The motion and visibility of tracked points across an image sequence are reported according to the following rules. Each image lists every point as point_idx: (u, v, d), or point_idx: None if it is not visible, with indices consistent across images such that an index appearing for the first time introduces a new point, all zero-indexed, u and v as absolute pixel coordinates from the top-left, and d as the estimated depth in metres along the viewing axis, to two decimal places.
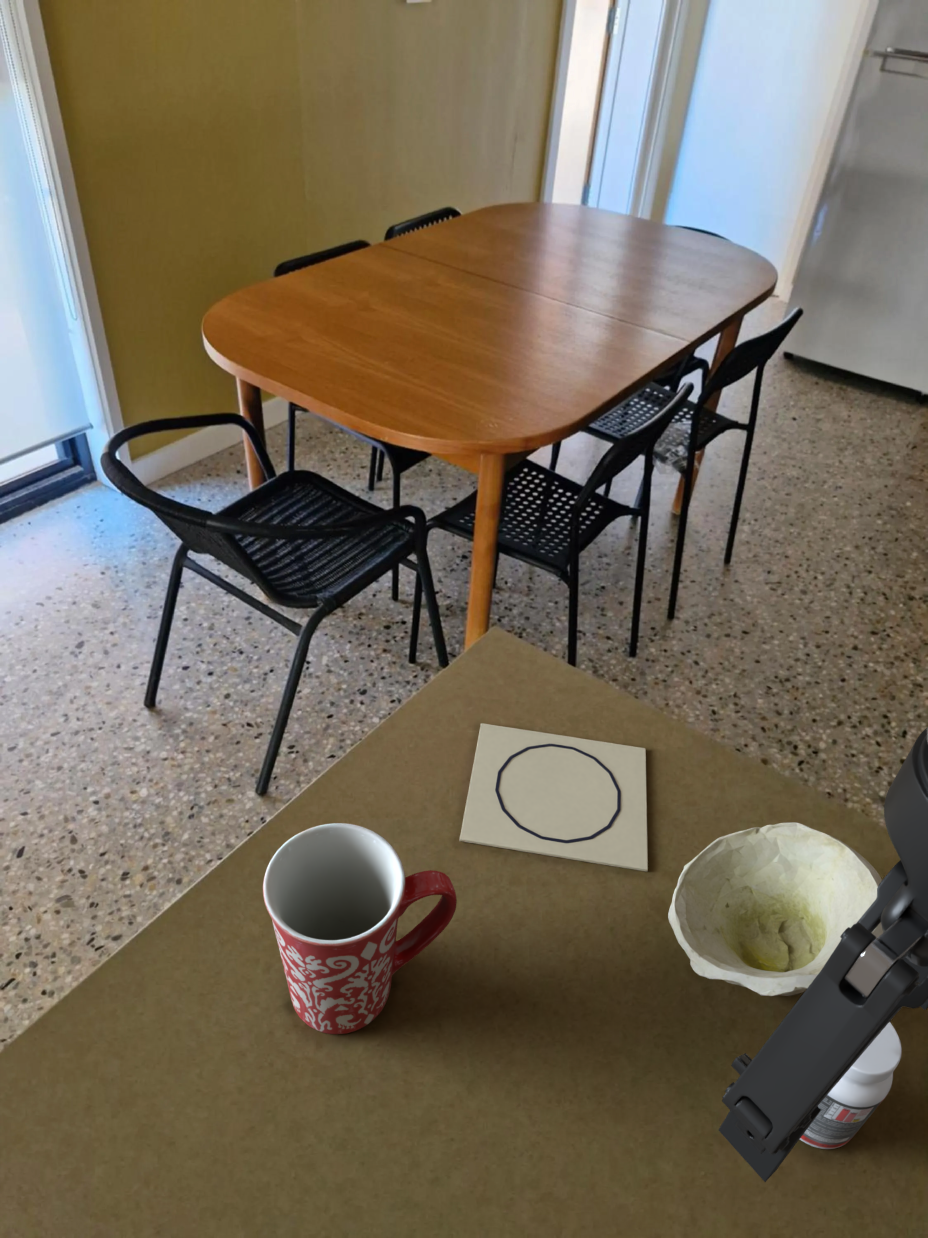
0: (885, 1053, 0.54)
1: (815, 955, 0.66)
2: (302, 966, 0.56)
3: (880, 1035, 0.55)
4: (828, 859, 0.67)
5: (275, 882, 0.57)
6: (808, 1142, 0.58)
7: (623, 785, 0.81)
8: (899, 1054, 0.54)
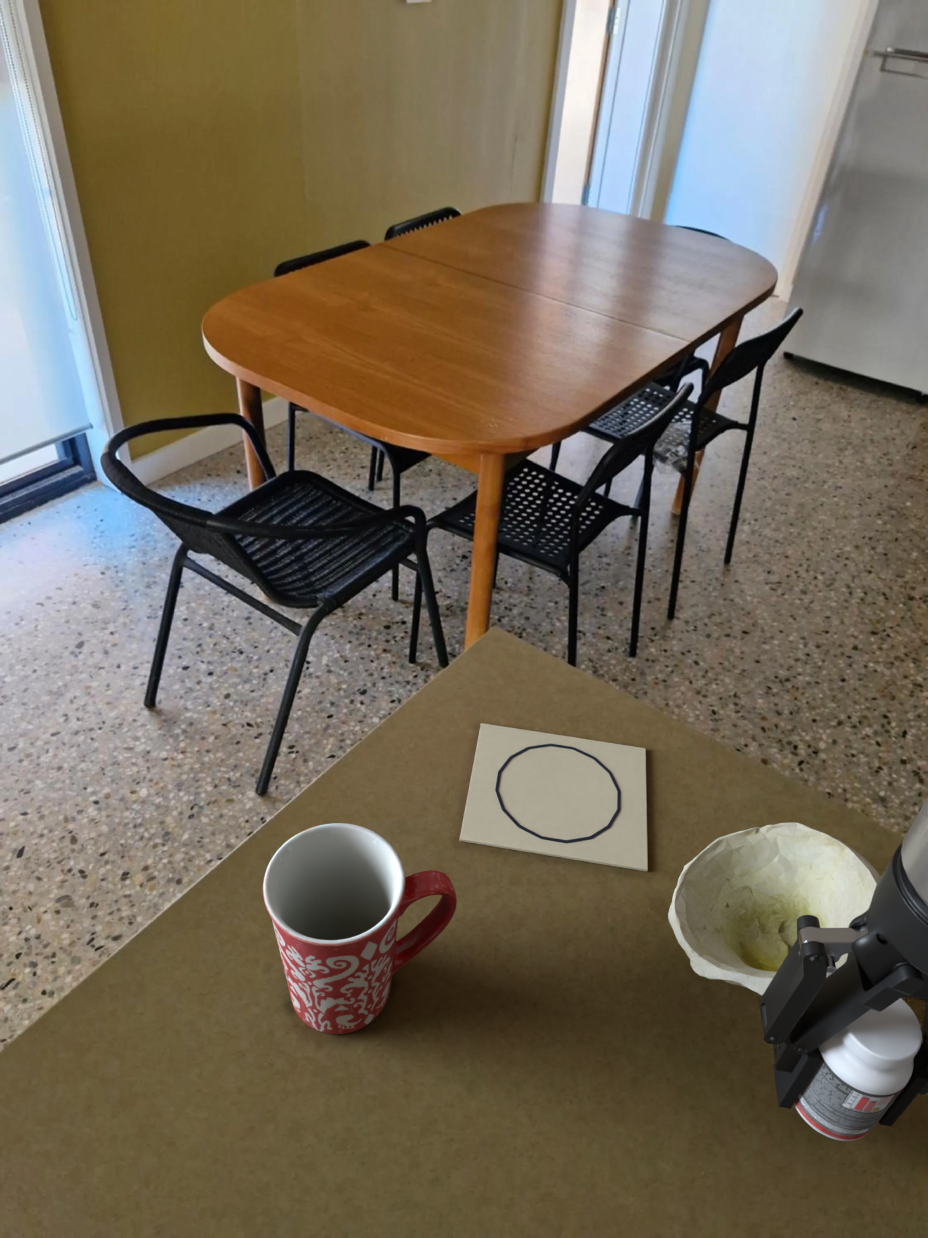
0: (905, 1038, 0.52)
1: None
2: (302, 966, 0.56)
3: (900, 1020, 0.53)
4: (828, 859, 0.67)
5: (275, 882, 0.57)
6: (826, 1133, 0.56)
7: (623, 785, 0.81)
8: (920, 1039, 0.52)
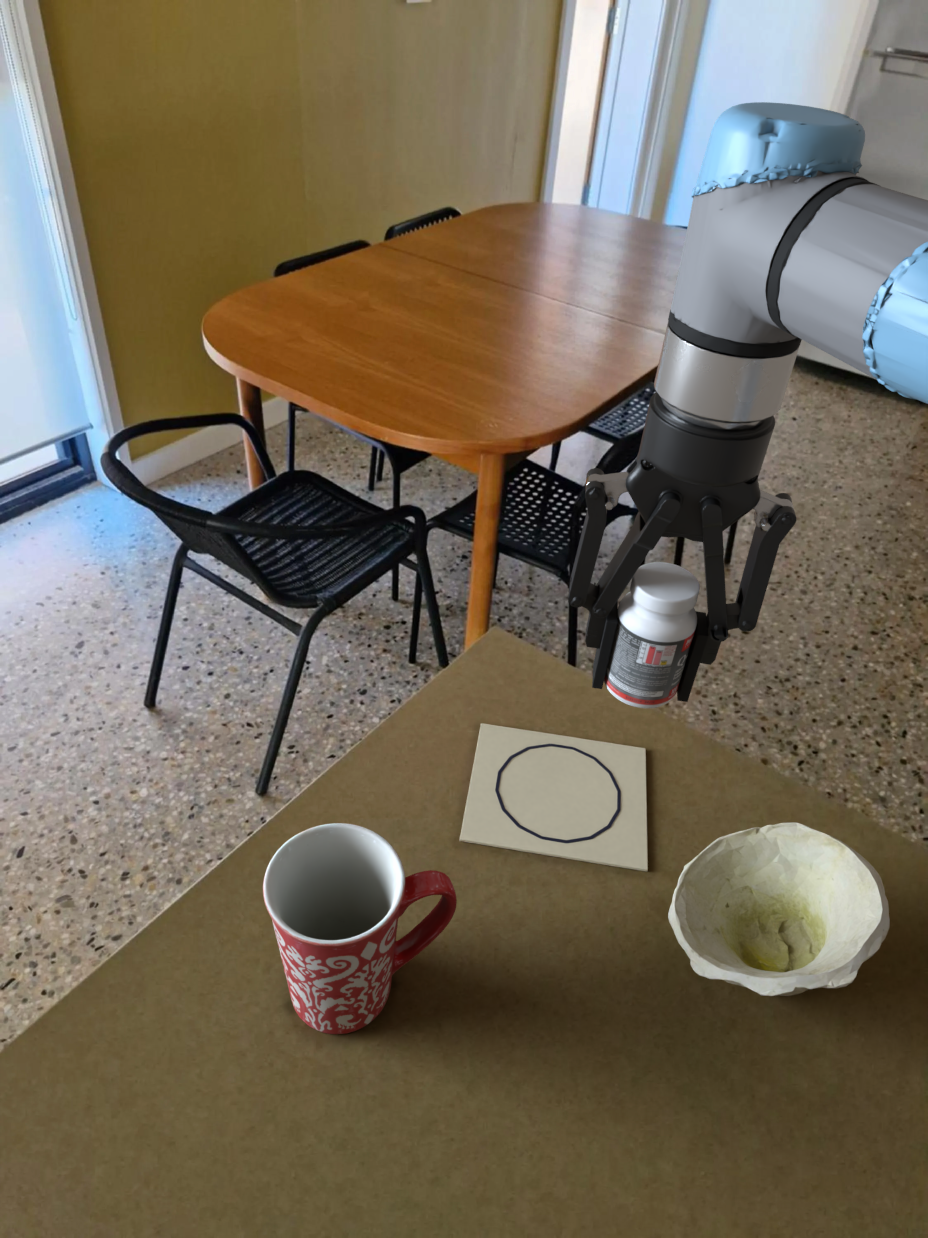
0: (684, 590, 0.61)
1: (815, 955, 0.66)
2: (302, 966, 0.56)
3: (682, 581, 0.62)
4: (828, 859, 0.67)
5: (275, 882, 0.57)
6: (629, 700, 0.65)
7: (623, 785, 0.81)
8: (696, 591, 0.61)
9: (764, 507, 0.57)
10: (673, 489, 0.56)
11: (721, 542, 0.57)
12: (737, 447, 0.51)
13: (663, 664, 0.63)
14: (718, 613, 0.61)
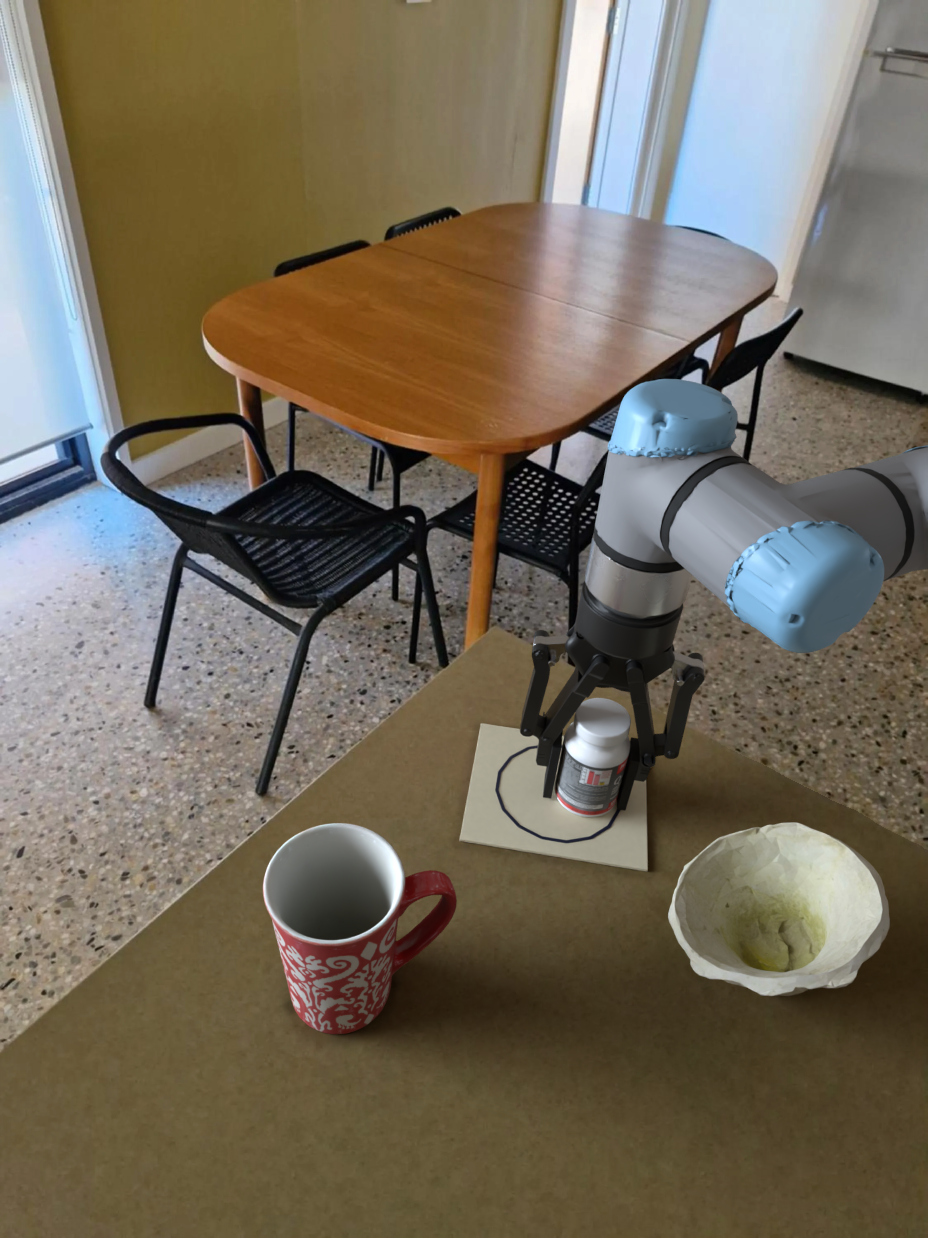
0: (617, 726, 0.73)
1: (815, 955, 0.66)
2: (302, 966, 0.56)
3: (616, 716, 0.74)
4: (828, 859, 0.67)
5: (275, 882, 0.57)
6: (574, 811, 0.78)
7: None
8: (627, 727, 0.73)
9: (679, 667, 0.69)
10: (603, 653, 0.68)
11: (644, 694, 0.69)
12: (650, 633, 0.63)
13: (601, 784, 0.75)
14: (647, 745, 0.74)
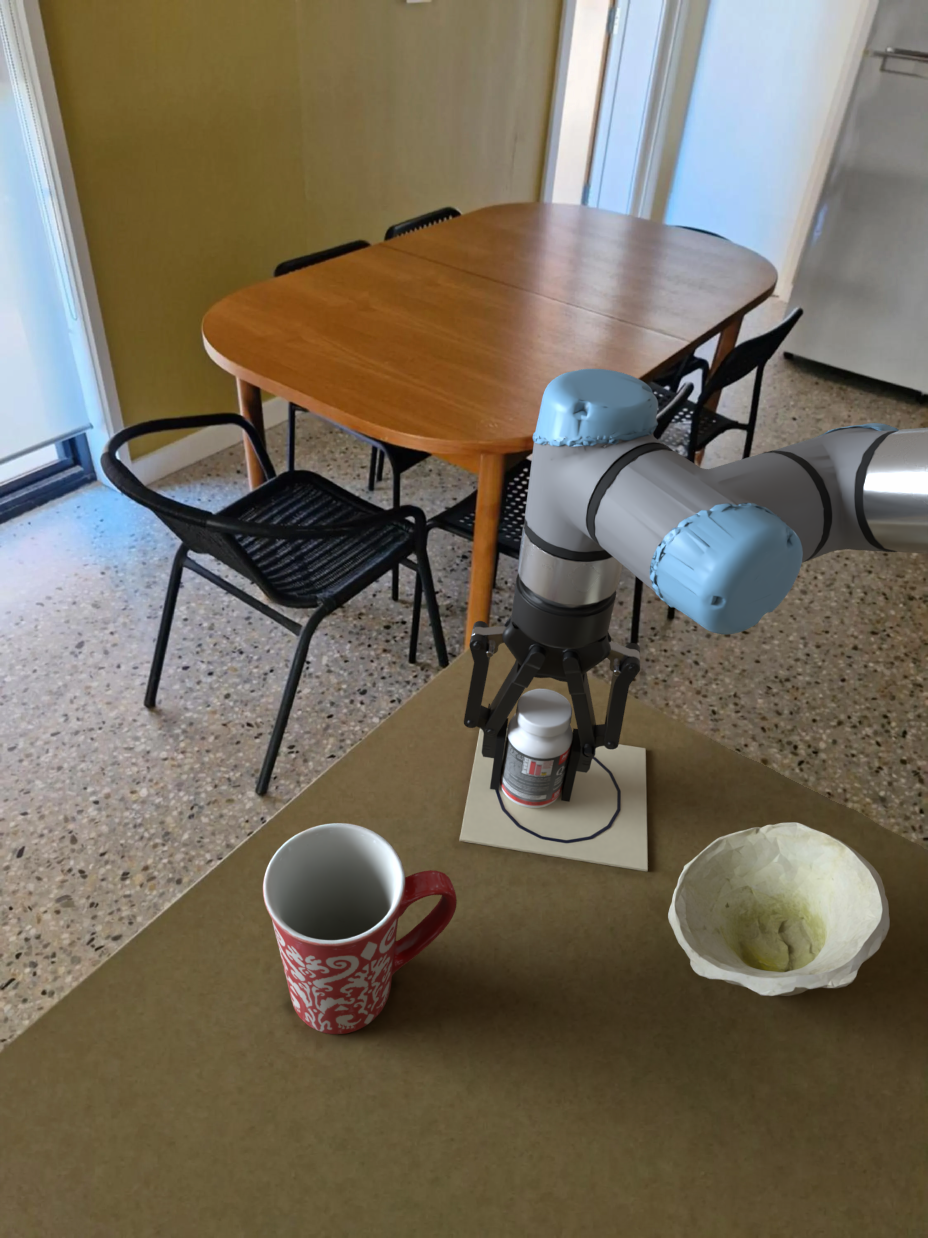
0: (558, 716, 0.74)
1: (815, 955, 0.66)
2: (302, 966, 0.56)
3: (558, 707, 0.75)
4: (828, 859, 0.67)
5: (275, 882, 0.57)
6: (518, 801, 0.78)
7: (623, 785, 0.81)
8: (568, 717, 0.74)
9: (615, 657, 0.69)
10: (539, 643, 0.69)
11: (581, 684, 0.70)
12: (581, 622, 0.64)
13: (543, 775, 0.76)
14: (586, 735, 0.74)
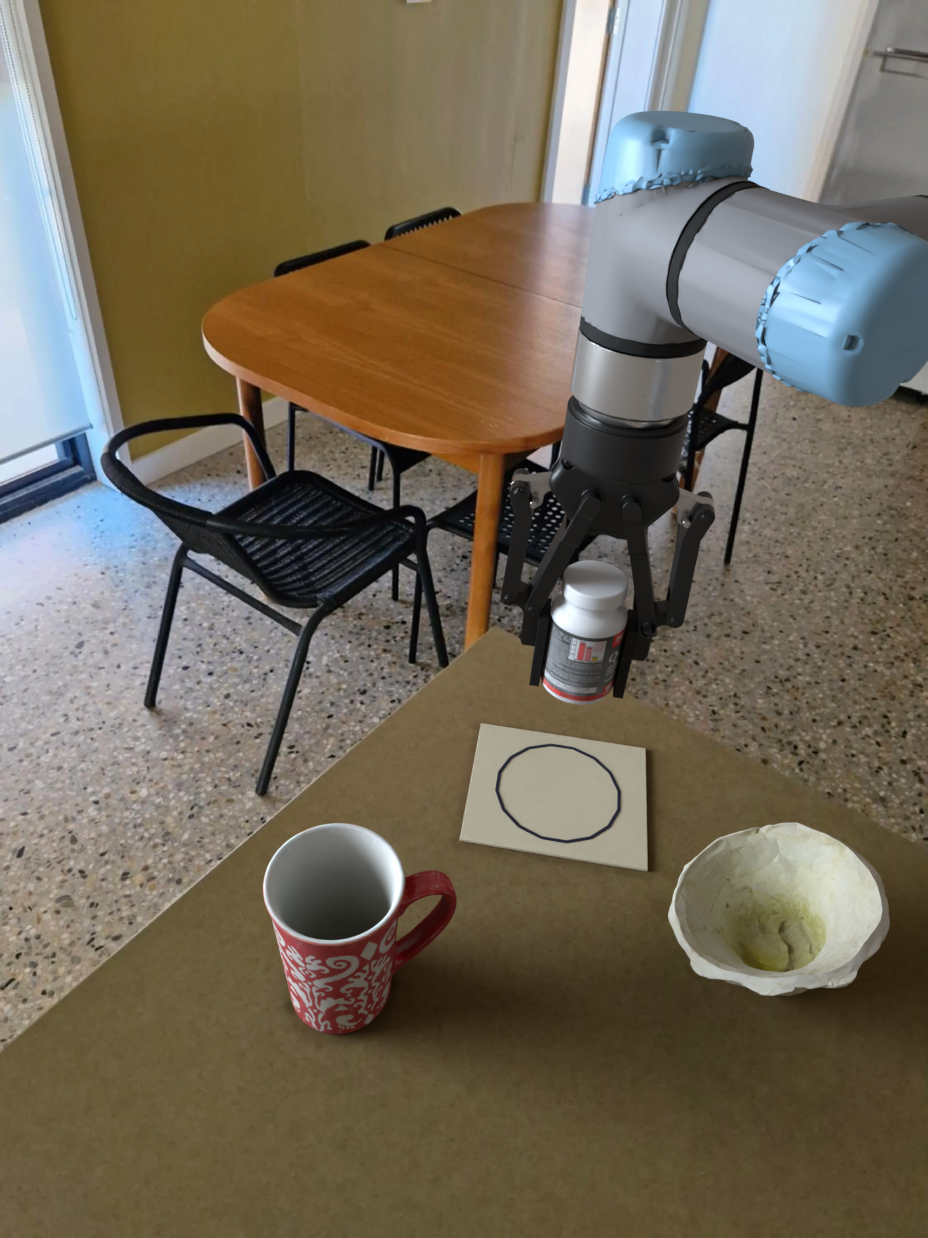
0: (612, 587, 0.62)
1: (815, 955, 0.66)
2: (302, 966, 0.56)
3: (611, 578, 0.63)
4: (828, 859, 0.67)
5: (275, 882, 0.57)
6: (563, 696, 0.67)
7: (623, 785, 0.81)
8: (624, 588, 0.62)
9: (684, 505, 0.58)
10: (594, 488, 0.57)
11: (643, 540, 0.58)
12: (649, 446, 0.52)
13: (594, 660, 0.64)
14: (646, 610, 0.62)
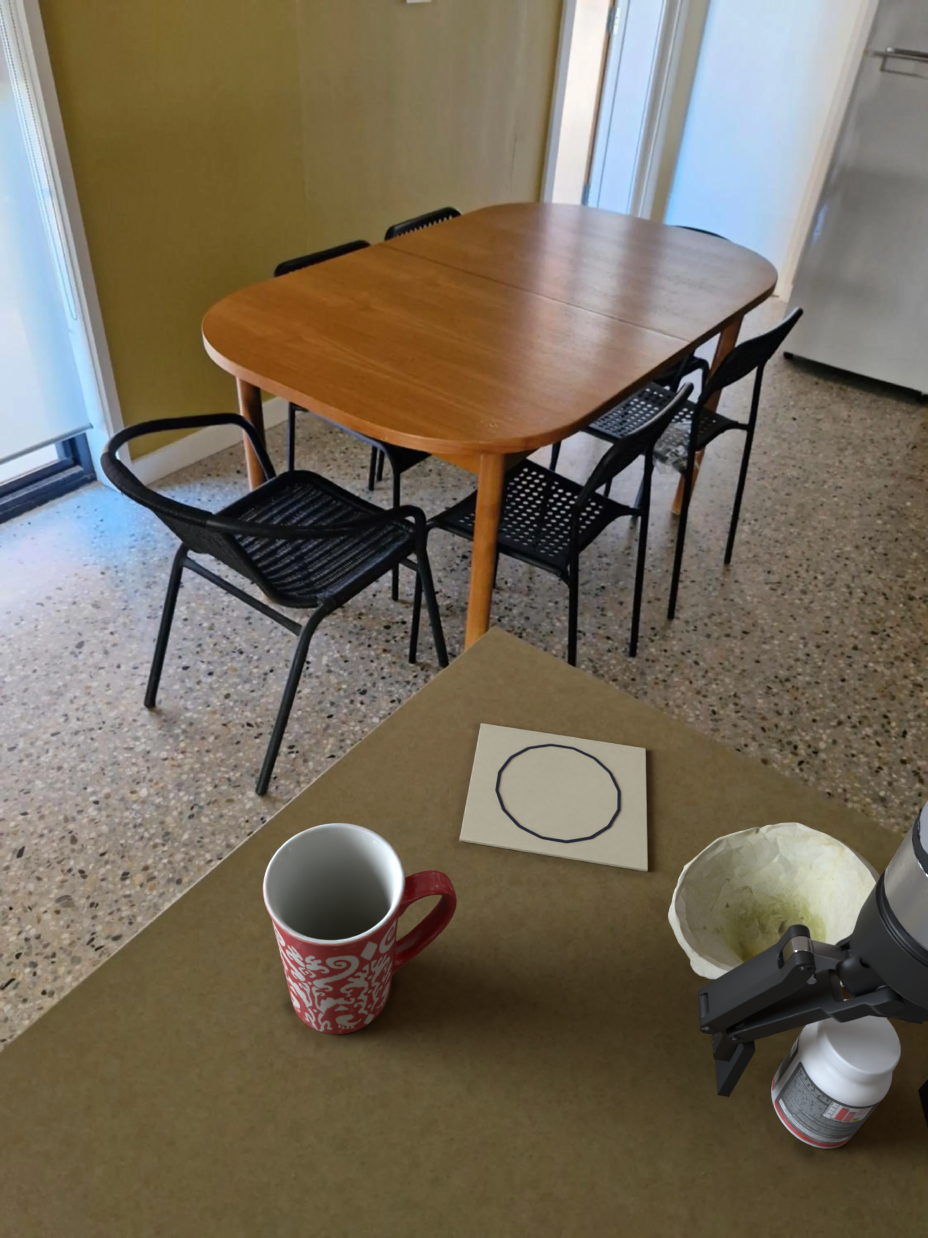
0: (884, 1052, 0.54)
1: None
2: (302, 966, 0.56)
3: (879, 1034, 0.55)
4: (828, 859, 0.67)
5: (275, 882, 0.57)
6: (807, 1141, 0.58)
7: (623, 785, 0.81)
8: (898, 1053, 0.54)
9: None
10: None
11: None
12: None
13: (854, 1121, 0.56)
14: None
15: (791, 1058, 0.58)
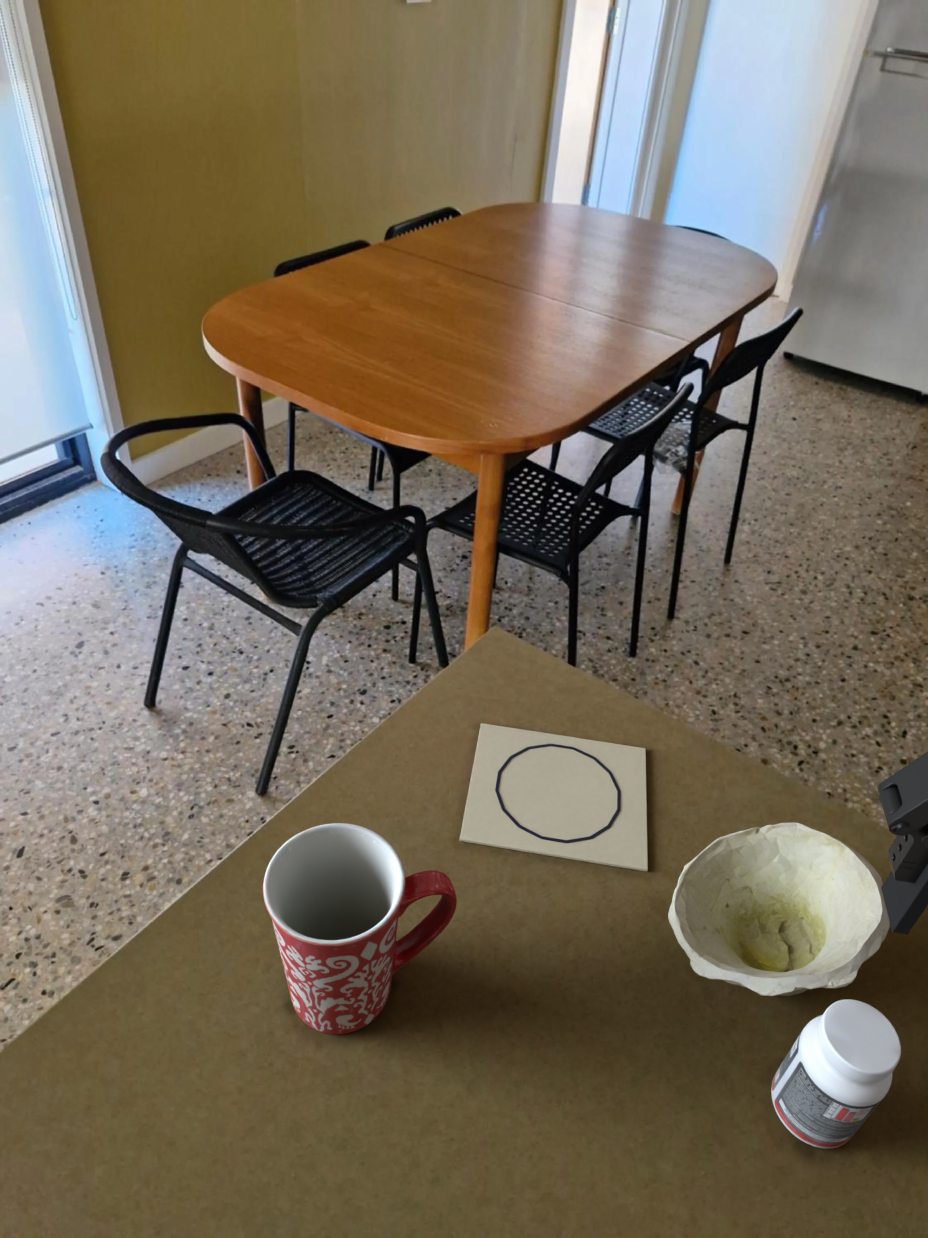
0: (884, 1052, 0.54)
1: (815, 955, 0.66)
2: (302, 966, 0.56)
3: (879, 1034, 0.55)
4: (828, 859, 0.67)
5: (275, 882, 0.57)
6: (807, 1141, 0.58)
7: (623, 785, 0.81)
8: (898, 1053, 0.54)
9: None
10: None
11: None
12: None
13: (854, 1121, 0.56)
14: None
15: (791, 1058, 0.58)
